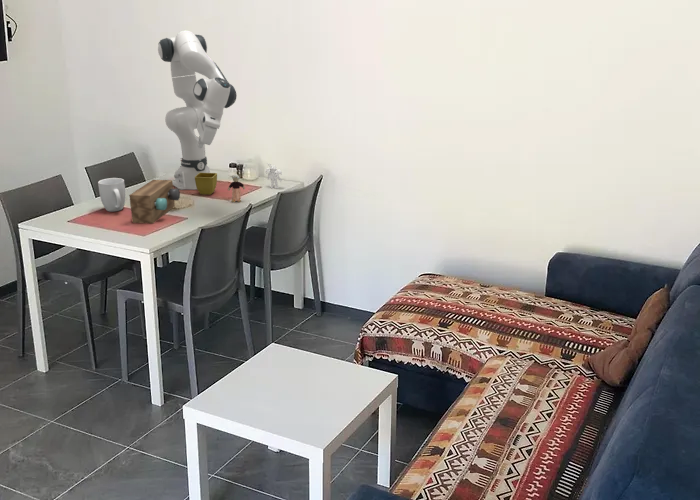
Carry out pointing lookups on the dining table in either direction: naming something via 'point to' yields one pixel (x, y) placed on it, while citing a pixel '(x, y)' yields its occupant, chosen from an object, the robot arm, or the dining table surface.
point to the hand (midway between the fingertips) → (199, 146)
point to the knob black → (174, 194)
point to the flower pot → (206, 182)
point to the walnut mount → (150, 201)
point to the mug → (112, 193)
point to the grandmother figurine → (236, 188)
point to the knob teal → (161, 204)
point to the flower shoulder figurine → (273, 175)
